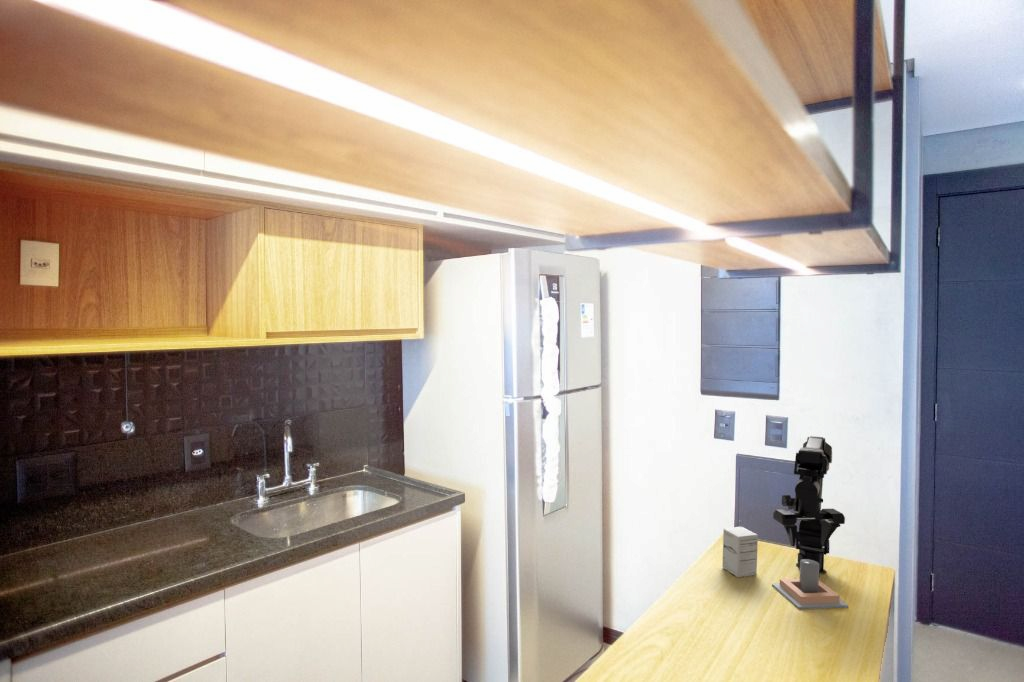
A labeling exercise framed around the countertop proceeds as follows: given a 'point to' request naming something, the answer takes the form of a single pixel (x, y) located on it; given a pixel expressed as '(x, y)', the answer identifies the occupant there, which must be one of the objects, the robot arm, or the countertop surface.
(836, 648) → the countertop surface
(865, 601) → the countertop surface
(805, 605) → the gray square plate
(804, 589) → the grey rounded tapered cylinder
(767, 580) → the countertop surface
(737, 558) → the supplement box
